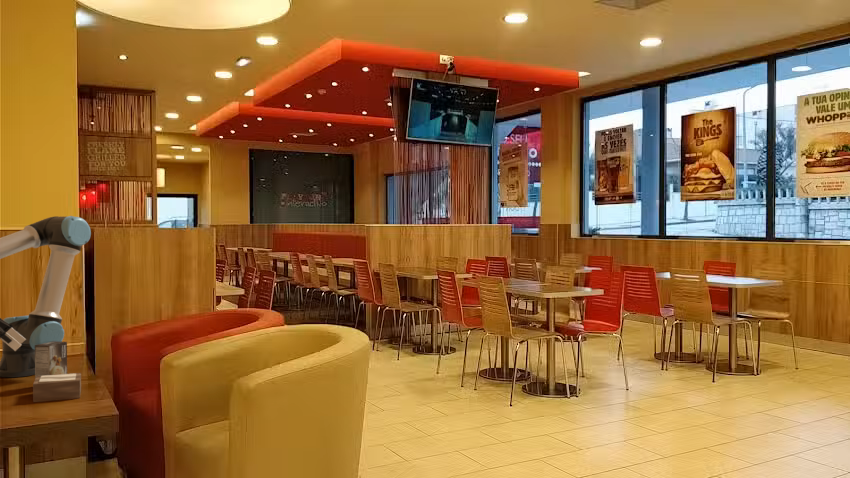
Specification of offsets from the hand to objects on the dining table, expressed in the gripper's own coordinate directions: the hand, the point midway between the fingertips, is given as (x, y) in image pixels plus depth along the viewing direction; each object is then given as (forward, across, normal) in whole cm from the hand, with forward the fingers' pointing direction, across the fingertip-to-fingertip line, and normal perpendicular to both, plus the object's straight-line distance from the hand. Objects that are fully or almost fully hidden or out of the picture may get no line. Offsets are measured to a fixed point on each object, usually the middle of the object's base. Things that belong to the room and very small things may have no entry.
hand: (20, 345), depth 248 cm
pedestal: (+20, +16, -2) cm, 26 cm away
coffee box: (+18, 0, -4) cm, 19 cm away
